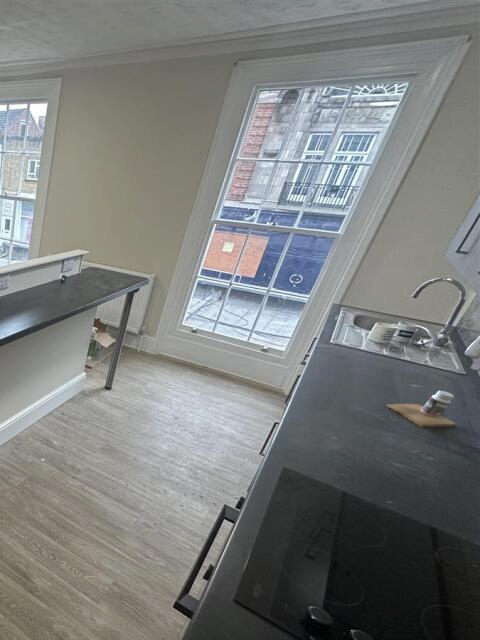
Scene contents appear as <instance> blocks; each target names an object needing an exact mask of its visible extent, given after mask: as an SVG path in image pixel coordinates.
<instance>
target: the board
mask: <svg viewBox="0 0 480 640" xmlns="http://www.w3.org/2000/svg"><path fill="white" fill-rule="evenodd" d="M386 406H387V407H386V408H387V409H389V408H391V409H393V410H394V411H393V410H392V411H393V412H394V413H396V412H398V413H400V414H401V415H400V414H399V415H400V416H401V417H403V418H405V417H406V418H405V419H407V418H408V419H407V420H408V421H409V422H410V421H411V422H412V421H413V422H412V423H414V424H416V425H417V426H419V427H421V428H431V427H433V428H435V427H454V426H455V425H457V423H456V422H454V421H452V420H450V419H448V418H446V417H445V416H443V415H441V414H440V416H438V417H434V416H430V415H427V414H425V413H423V412H422V411H421V409H422V408H423V406H424V405H422V404H420V403H394V404H393V403H392V404H386ZM388 407H389V408H388ZM391 409H390V410H391ZM395 411H396V412H395ZM398 413H397V414H398ZM402 415H403V416H402Z"/></svg>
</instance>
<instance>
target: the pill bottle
mask: <svg viewBox="0 0 480 640" xmlns="http://www.w3.org/2000/svg"><path fill="white" fill-rule="evenodd" d="M454 398H455V395H454V394H452V393H450V392H448V391H445V390H438V391H437V392H436V393H435V394H433V395H432V396H430V398H429V399H428V400H427V401H426V402H425V404H424V405H422V406H423V408H422V409H421V411H422V412H423V413H425V414H427V415H430V416H434V417H438V416H440V415H441V414H442V413H443V412H444V411H445V410H446V409H447V408H448V407H449V406H450V404H451V403H452V401H451V400H453V399H454Z"/></svg>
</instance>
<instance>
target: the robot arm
mask: <svg viewBox="0 0 480 640" xmlns="http://www.w3.org/2000/svg"><path fill="white" fill-rule="evenodd" d="M464 355H465V356H467V357H470V358H472V359H473V363H472V365H471V366H470V369H472V370H474V371H480V336H478V337H477V338H476V339H475V340H474V341H473V342H472V343H471V344H470V345H469V346H468V348H467V349H465V351H464Z"/></svg>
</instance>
